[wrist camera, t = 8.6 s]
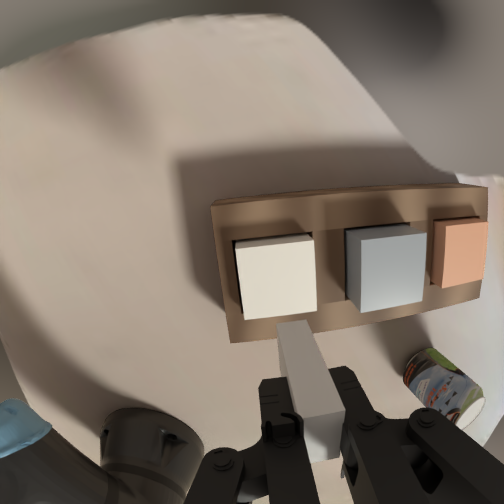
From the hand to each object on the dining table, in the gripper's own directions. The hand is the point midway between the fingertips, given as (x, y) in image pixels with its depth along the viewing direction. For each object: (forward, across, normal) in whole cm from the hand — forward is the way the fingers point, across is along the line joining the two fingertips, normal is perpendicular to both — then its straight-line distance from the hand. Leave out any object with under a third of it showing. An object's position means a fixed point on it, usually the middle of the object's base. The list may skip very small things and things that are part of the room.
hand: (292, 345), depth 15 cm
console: (+15, +9, 0) cm, 18 cm away
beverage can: (+16, +19, -17) cm, 30 cm away
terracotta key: (+13, +18, 0) cm, 22 cm away
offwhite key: (+13, 0, 0) cm, 13 cm away
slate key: (+11, +9, 0) cm, 15 cm away
